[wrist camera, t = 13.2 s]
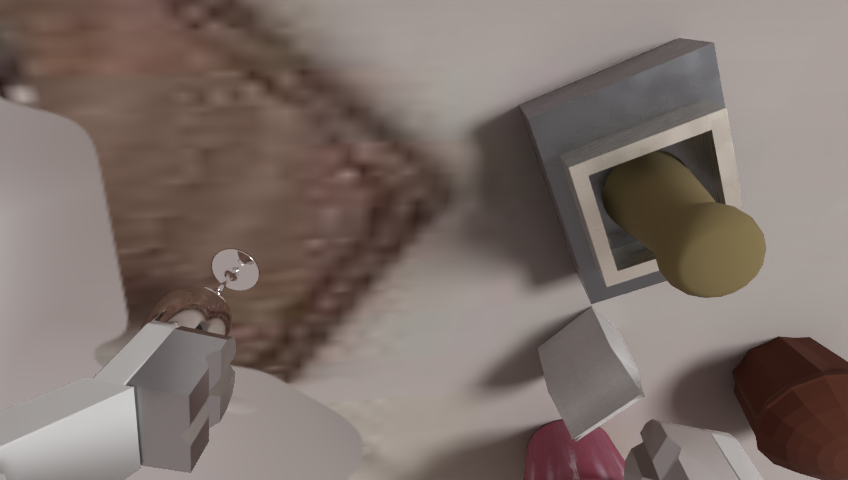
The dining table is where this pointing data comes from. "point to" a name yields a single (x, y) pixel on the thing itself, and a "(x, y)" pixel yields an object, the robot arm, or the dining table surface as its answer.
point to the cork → (684, 225)
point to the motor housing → (630, 151)
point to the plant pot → (572, 455)
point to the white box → (589, 373)
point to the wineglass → (208, 296)
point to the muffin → (797, 405)
